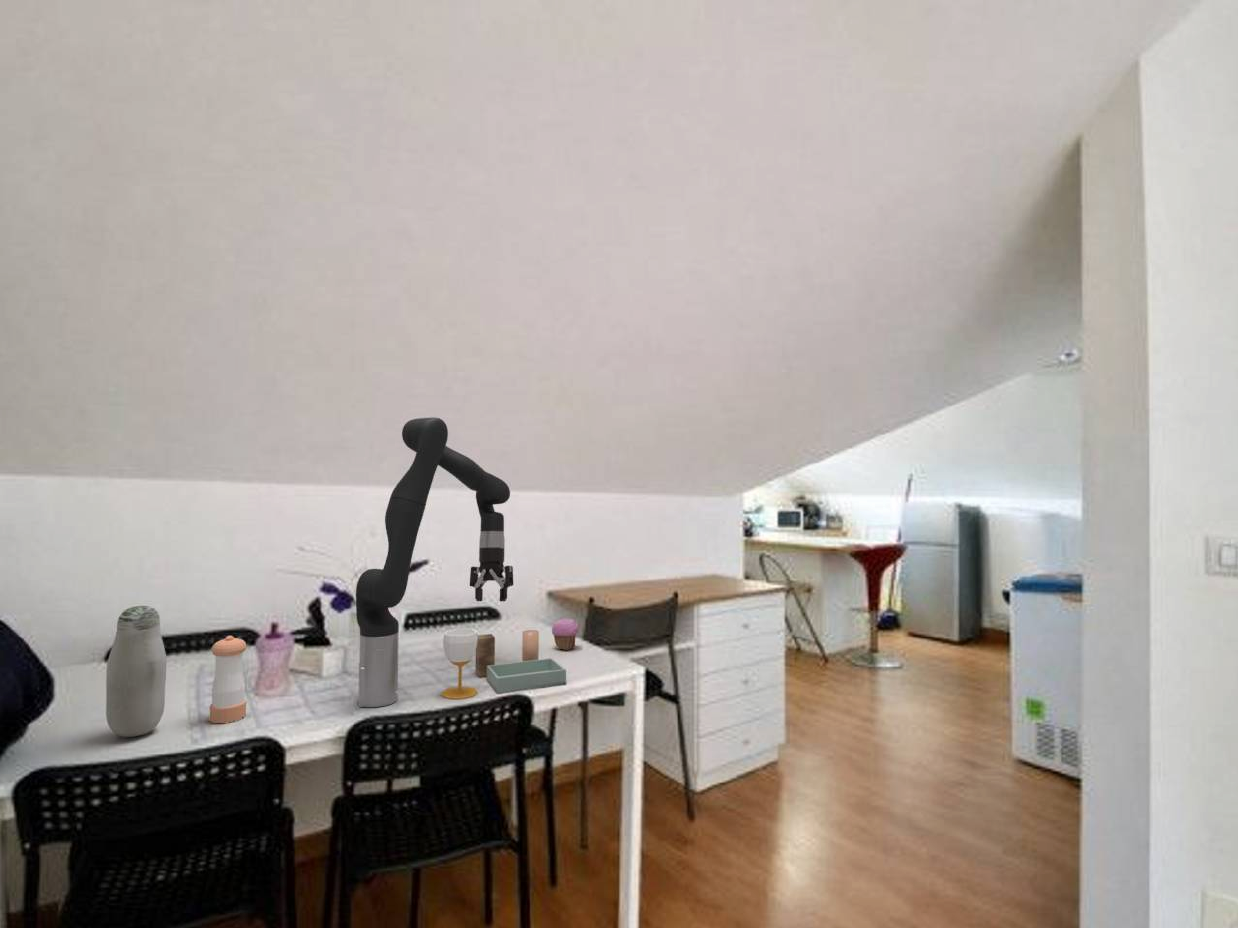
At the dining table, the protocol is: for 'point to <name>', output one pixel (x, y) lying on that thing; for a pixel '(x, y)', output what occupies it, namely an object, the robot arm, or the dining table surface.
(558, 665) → the tray
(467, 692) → the cup
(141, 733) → the grey bottle
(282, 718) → the dining table surface
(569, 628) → the cupcake
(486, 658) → the walnut block
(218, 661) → the salt shaker
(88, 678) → the dining table surface
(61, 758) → the dining table surface
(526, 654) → the terracotta cylinder
